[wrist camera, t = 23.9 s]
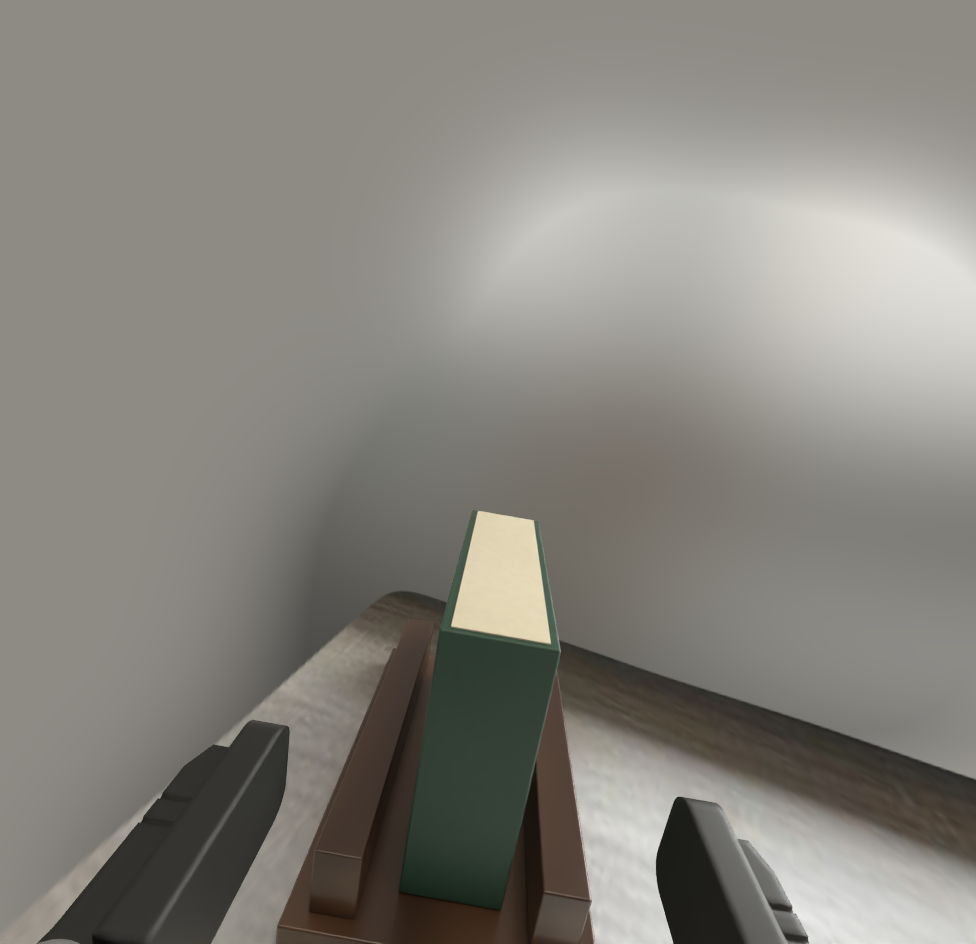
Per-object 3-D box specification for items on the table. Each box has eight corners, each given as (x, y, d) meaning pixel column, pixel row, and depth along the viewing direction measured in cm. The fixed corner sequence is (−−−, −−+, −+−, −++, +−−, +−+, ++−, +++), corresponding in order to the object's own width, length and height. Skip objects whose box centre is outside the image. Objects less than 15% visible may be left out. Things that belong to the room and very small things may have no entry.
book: (397, 892, 15) (439, 627, 13) (445, 674, 26) (472, 508, 23) (501, 912, 15) (562, 650, 13) (505, 685, 26) (539, 520, 23)
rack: (274, 950, 14) (280, 864, 13) (391, 661, 28) (398, 610, 27) (595, 1009, 14) (621, 926, 13) (553, 690, 27) (565, 640, 27)
